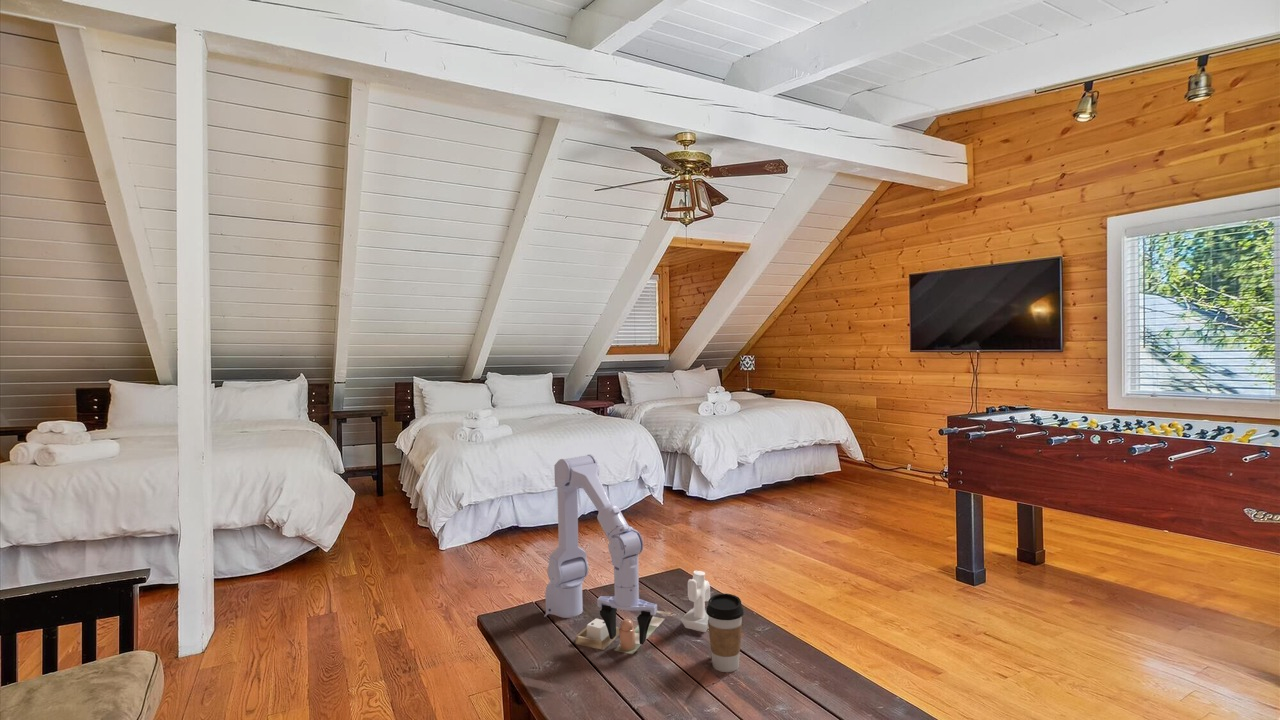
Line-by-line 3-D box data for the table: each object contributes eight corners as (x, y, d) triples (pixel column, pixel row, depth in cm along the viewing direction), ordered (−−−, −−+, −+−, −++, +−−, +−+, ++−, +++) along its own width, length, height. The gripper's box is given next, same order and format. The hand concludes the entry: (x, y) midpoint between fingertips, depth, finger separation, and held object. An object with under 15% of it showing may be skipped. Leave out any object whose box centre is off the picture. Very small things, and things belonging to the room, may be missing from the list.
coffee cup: (747, 659, 151) (746, 595, 150) (740, 678, 143) (739, 610, 142) (711, 653, 153) (710, 591, 152) (702, 672, 145) (702, 605, 145)
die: (587, 640, 159) (586, 624, 158) (596, 634, 162) (596, 618, 162) (600, 644, 156) (600, 628, 156) (610, 637, 160) (609, 621, 160)
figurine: (720, 625, 167) (719, 568, 167) (704, 641, 159) (704, 581, 159) (694, 619, 171) (693, 563, 170) (678, 634, 163) (677, 575, 162)
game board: (572, 651, 156) (571, 638, 156) (620, 607, 179) (619, 596, 179) (629, 663, 150) (628, 650, 149) (671, 616, 173) (670, 605, 173)
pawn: (617, 649, 154) (616, 621, 154) (624, 642, 157) (623, 615, 157) (630, 652, 152) (629, 624, 152) (638, 645, 155) (636, 617, 155)
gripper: (661, 580, 155) (662, 637, 155) (605, 573, 160) (606, 627, 161) (650, 592, 148) (651, 650, 149) (592, 584, 154) (594, 640, 154)
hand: (627, 639), depth 154 cm, fingers open, 7 cm apart
